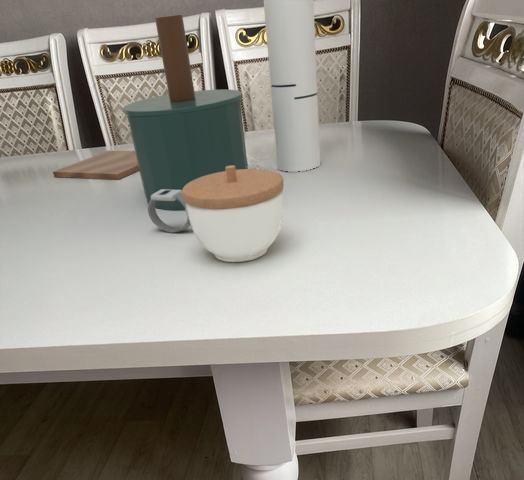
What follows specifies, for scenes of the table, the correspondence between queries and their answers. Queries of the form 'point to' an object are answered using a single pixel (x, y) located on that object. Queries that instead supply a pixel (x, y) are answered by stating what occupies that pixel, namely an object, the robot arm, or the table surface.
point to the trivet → (102, 166)
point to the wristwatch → (166, 196)
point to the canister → (187, 148)
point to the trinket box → (236, 212)
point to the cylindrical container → (293, 82)
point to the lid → (178, 78)
